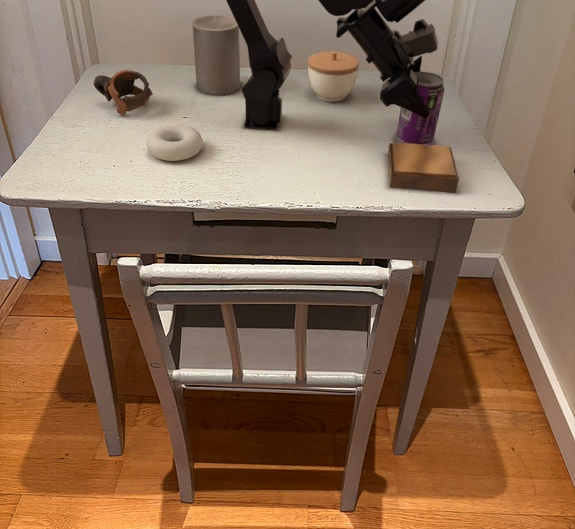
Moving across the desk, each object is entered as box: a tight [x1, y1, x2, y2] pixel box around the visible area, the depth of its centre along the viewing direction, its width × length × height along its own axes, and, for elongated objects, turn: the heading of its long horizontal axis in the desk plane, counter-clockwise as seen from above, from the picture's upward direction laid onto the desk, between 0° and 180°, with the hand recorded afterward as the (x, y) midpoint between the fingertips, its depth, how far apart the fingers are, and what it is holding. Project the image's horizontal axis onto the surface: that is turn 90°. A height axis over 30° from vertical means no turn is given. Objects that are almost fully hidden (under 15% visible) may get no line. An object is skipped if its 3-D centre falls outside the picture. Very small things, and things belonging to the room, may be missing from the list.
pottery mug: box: [92, 69, 154, 116], centre depth 115 cm, size 12×10×8 cm
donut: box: [146, 124, 204, 162], centre depth 102 cm, size 10×4×10 cm
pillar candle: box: [192, 15, 241, 96], centre depth 121 cm, size 10×10×15 cm
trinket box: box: [307, 51, 360, 103], centre depth 121 cm, size 11×11×9 cm
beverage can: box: [396, 71, 445, 145], centre depth 105 cm, size 7×7×12 cm
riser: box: [386, 141, 460, 193], centre depth 98 cm, size 11×11×3 cm
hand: (428, 107), depth 104 cm, fingers closed on beverage can, 7 cm apart
